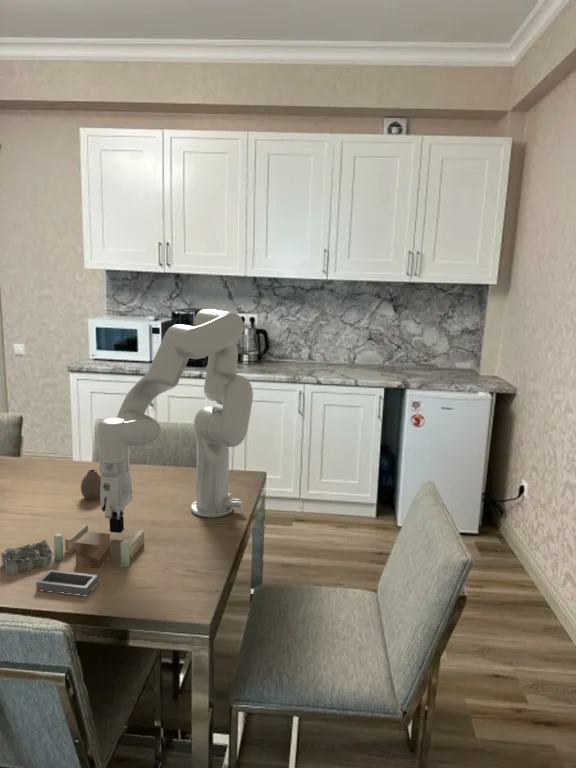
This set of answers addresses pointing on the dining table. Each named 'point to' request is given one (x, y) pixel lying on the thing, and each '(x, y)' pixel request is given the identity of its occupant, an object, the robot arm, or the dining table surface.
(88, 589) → the tray
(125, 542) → the goal posts
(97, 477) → the vase
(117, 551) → the dining table surface
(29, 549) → the grey jagged open ring
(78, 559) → the walnut block
